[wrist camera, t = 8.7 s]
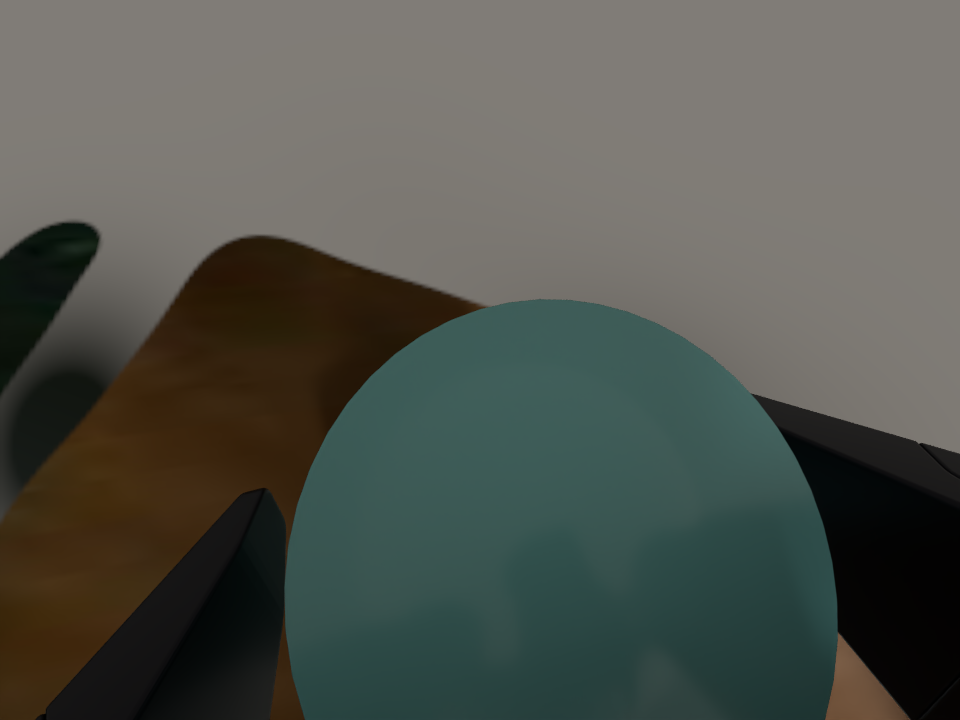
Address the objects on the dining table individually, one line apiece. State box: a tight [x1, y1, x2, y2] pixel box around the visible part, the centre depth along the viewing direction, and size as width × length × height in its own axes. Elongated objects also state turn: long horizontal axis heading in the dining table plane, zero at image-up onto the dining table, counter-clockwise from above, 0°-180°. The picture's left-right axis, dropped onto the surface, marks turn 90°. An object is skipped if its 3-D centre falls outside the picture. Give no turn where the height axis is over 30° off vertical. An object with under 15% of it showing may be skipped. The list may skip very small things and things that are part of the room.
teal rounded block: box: [284, 299, 838, 720], centre depth 10 cm, size 6×6×13 cm
